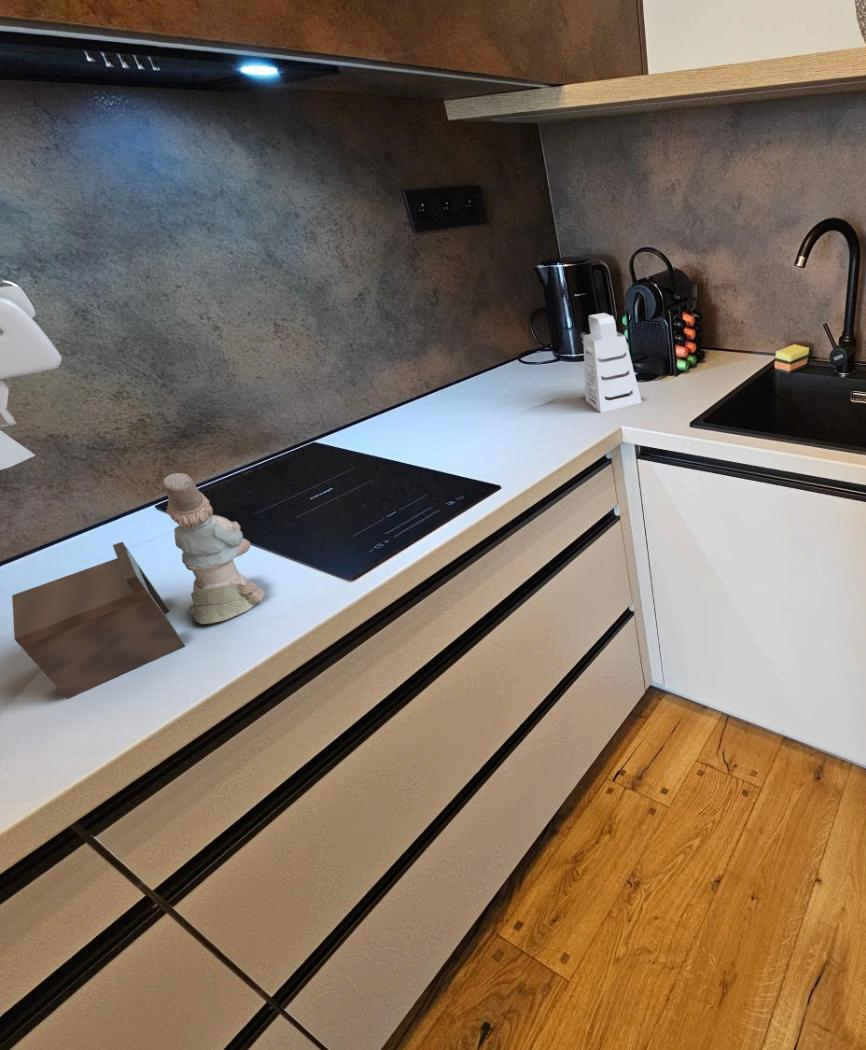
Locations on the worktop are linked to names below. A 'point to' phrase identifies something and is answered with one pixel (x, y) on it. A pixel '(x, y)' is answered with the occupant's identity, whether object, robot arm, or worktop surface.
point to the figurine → (209, 553)
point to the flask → (12, 452)
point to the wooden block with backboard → (94, 624)
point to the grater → (608, 366)
